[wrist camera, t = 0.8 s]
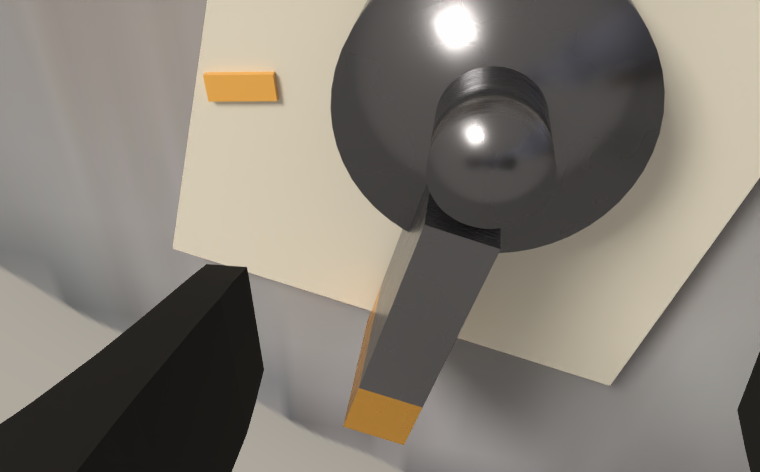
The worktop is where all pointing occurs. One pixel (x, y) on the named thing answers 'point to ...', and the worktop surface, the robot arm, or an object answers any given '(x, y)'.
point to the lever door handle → (480, 158)
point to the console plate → (510, 270)
